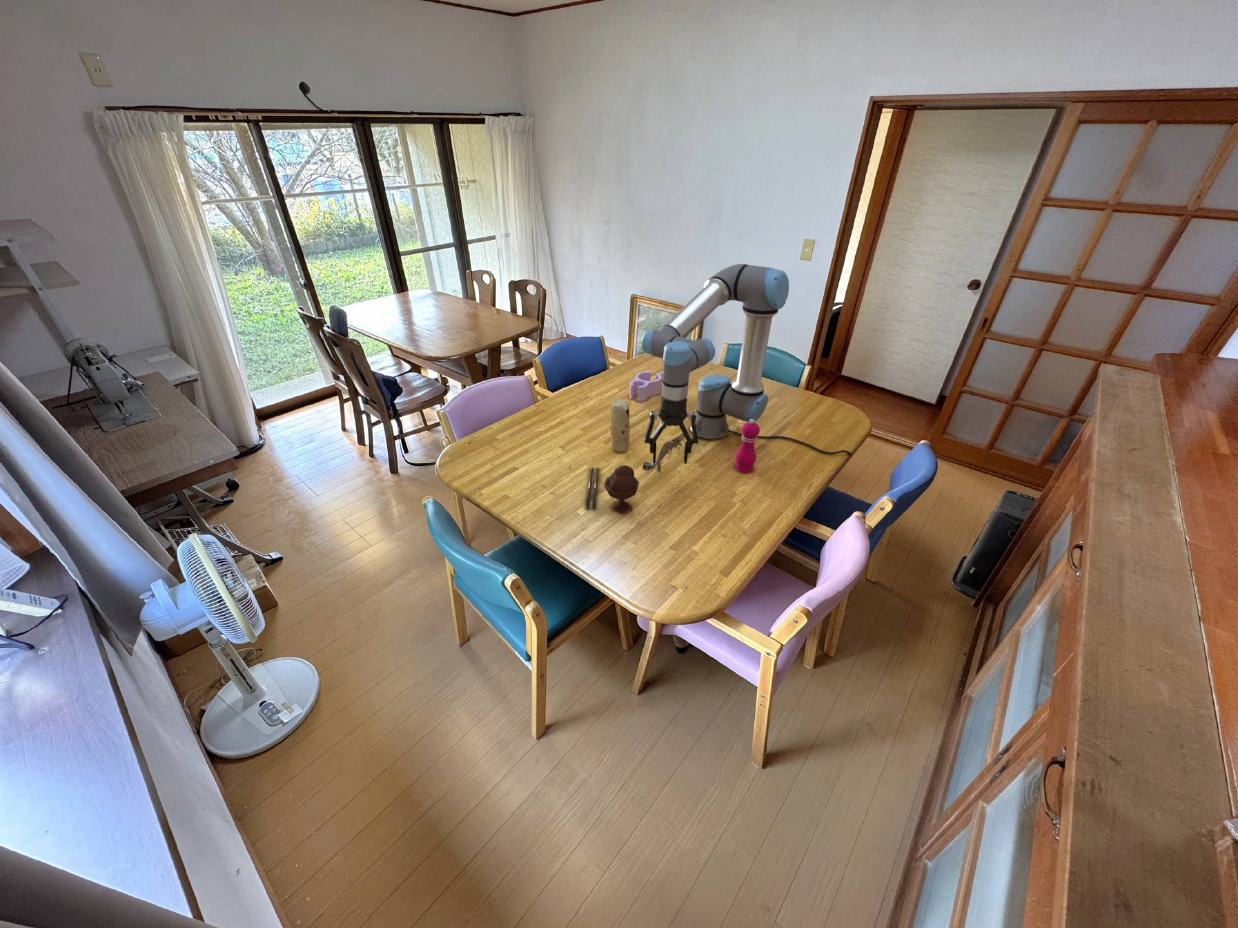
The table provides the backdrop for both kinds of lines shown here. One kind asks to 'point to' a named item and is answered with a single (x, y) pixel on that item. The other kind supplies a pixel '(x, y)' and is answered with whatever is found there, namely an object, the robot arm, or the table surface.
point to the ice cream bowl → (622, 487)
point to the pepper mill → (747, 447)
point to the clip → (645, 385)
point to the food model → (620, 425)
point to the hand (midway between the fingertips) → (669, 461)
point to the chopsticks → (594, 488)
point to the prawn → (664, 452)
